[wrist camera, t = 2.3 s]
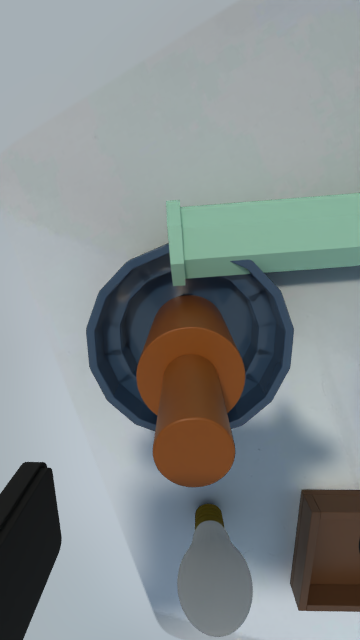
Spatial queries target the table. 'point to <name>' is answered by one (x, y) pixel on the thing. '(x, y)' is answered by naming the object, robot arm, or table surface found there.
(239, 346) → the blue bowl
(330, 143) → the table surface
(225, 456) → the bottle
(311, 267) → the container
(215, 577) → the light bulb
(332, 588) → the tray
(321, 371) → the table surface
